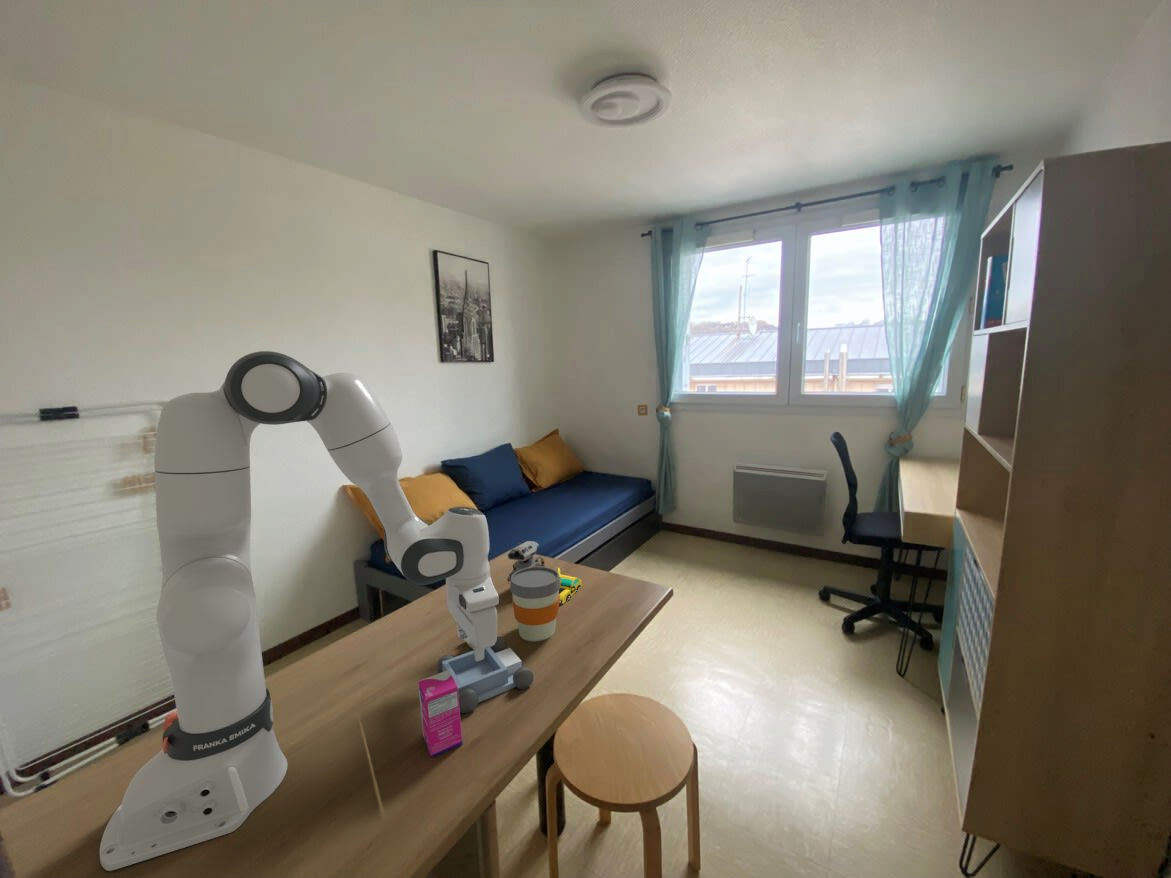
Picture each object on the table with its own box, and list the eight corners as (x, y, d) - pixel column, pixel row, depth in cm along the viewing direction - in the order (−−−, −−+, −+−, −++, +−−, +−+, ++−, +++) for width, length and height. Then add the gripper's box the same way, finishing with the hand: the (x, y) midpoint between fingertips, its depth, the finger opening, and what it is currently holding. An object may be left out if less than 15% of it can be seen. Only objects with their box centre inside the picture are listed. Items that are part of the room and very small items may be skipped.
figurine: (500, 595, 139) (498, 546, 137) (528, 581, 148) (527, 535, 145) (521, 604, 133) (519, 553, 131) (549, 589, 142) (548, 542, 140)
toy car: (562, 586, 144) (561, 560, 143) (585, 591, 141) (584, 564, 139) (542, 603, 133) (541, 576, 132) (565, 609, 130) (565, 581, 129)
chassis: (459, 716, 90) (458, 696, 89) (436, 675, 102) (435, 657, 102) (533, 685, 98) (533, 666, 98) (504, 650, 111) (503, 633, 110)
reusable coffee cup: (529, 615, 127) (527, 563, 124) (570, 625, 121) (569, 570, 119) (502, 639, 115) (499, 582, 113) (545, 651, 110) (543, 591, 108)
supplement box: (421, 737, 85) (417, 679, 83) (454, 724, 88) (450, 668, 86) (429, 759, 80) (425, 698, 78) (463, 744, 83) (459, 685, 81)
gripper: (438, 570, 103) (440, 629, 104) (470, 608, 86) (472, 678, 87) (466, 564, 106) (468, 622, 108) (502, 599, 89) (504, 667, 91)
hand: (470, 647), depth 98 cm, fingers open, 8 cm apart
